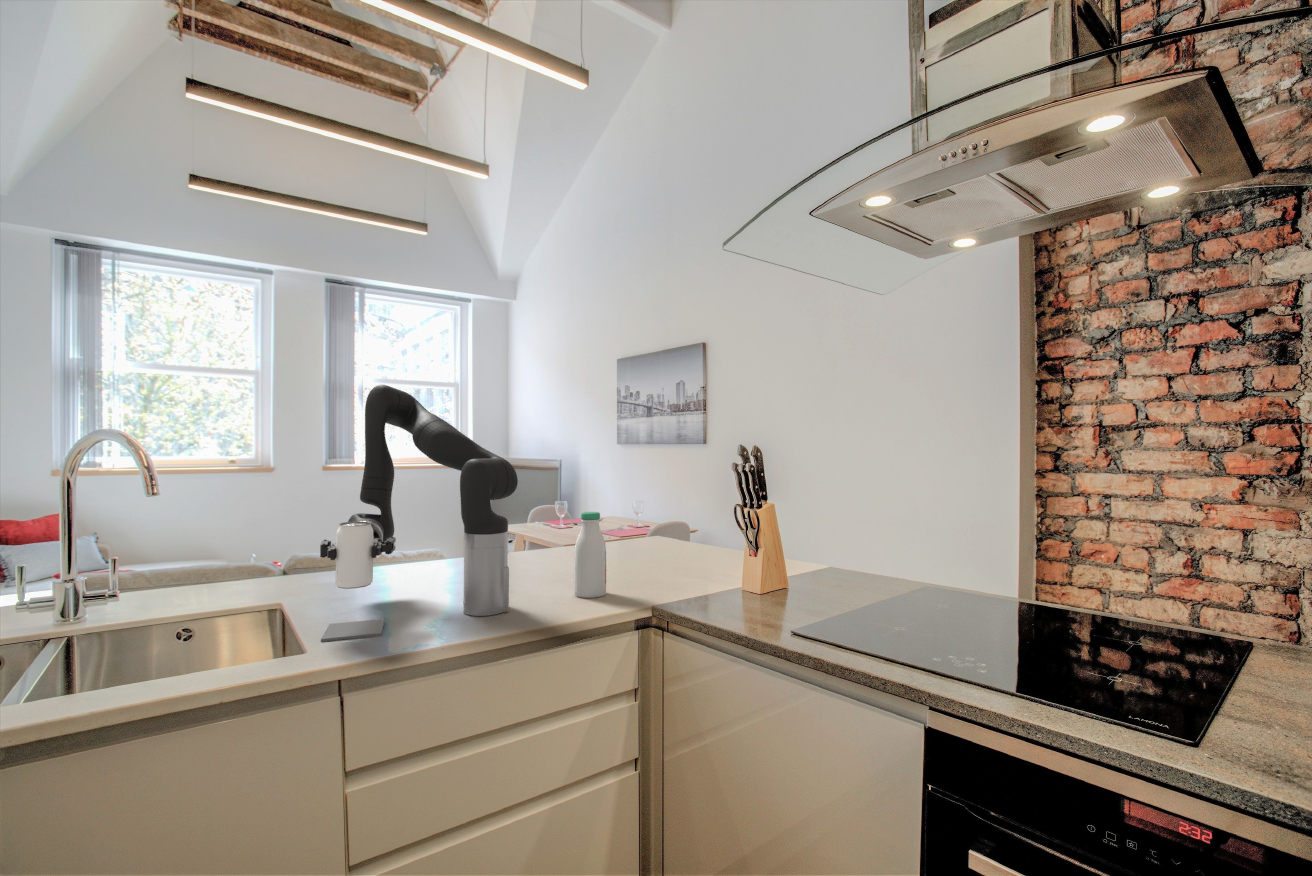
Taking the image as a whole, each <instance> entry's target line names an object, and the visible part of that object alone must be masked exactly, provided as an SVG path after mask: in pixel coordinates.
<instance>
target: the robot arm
mask: <svg viewBox="0 0 1312 876" xmlns="http://www.w3.org/2000/svg"><path fill="white" fill-rule="evenodd" d="M386 424H388V425H391V426H395V427H398V428H400V429H402V430H405V431H406V432H408V433H409V434H411V435H412V441H413V443H414V446H415V447H416V448H417V449H418V450H419V452H421V453H423V454H424V455H425V456H426V457H427V458H428V459H430V460H431V461H433V462H435V463H437V464H439V465H441V466H444V467H447V468H450V469H454V470H457V471H459V472H460V471H461V472H460V478H459V492H460V493H459V494H460V496H459V497H460V514H461V520H462V523H463V604H462V605H463V613H464V614H465V615H468V616H473V617H474V616H476V617H478V616H480V617H485V616H493V615H499V614H501V613H506V612H507V613H508V612H509V611H510V605H509V604H510V567H509V566H508V564H509V561H508V560H509V559H508V558H509V557H508V556H509V551H508V550H509V547H508V545H509V543H508V541H509V538H508V537H509V520H508V519H507V517H505V516H502V515H499V514H497V513H496V512H494V511H493V509H492V504H491V502H492V501H495V500H496V501H498V500H503V499H505V498H508V497H510V496H511V495H512V494H515V493H514V492H515V491H516V490H517V487H518V483H519V481H518V475H517V471H516V470H515V468H514V466H513V465H512V464H511V462H509V460H507V459H505V458H504V457H501V456H499V455H497V454H495V453H494V452H491V451H490V450H487V449H486V448H484V447H482V446H481V445H480V444H478V443H476V442H475V441H474V440H472V439H471V438H470V437H468V436H467V435H465V434H464V433H462V432H461V431H459V430H458V429H457V428H456V427H455V426H453V425H451V424H450V423H449V422H447V421H446V420H444V419H443V418H441V417H440V416H438V415H436V414H435V413H432V412H431V411H429V410H428V409H427V408H426V407H425V406H423V405H422V403H420V402H419V401H418V399H416V398H415V397H414V396H413V395H411V394H410V393H408V392H405V391H403V390H400V389H397V388H395V387H392V386H391V385H386V384H381V383H380V384H378V385H375V386H374V387H372V388H371V390H370V391H369V393H368V395H367V397H366V401H365V408H364V446H365V447H364V449H365V452H364V453H365V456H364V467H363V474H362V482H361V487H360V493H359V500H360V502H362V503H364V504H367V505H370V506H374V507H376V508H378V509H379V510H380V514H378V513H377V514H376V513H364V512H363V513H362V512H361V513H360V512H359V513H353V514H352V515H351V516H350V517H349V519H348V520H347V522H355V521H366V522H371V527H372V528H373V546H372V558H373V559H376V558H377V557H378V556H381V555H382V554H383V553H384V554H386V555H391V554H393V552H394V551H395V550H396V542H397V541H396V537H395V536H394V534H395V523H394V517H393V512H392V495H393V487H394V481H395V466H394V462H393V458H392V456H391V453H390V450H389V447H388V444H387V439H386V432H385V430H386ZM319 549H320V550H319V552H320V553H319V554H320V555H319V556H320V558H322V559H323V558H327V559H330V561H336V542H335V543H334V542H333V543H332V540H329V539H323V540H321V542H320V548H319Z"/></svg>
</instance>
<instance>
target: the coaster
mask: <svg viewBox="0 0 1312 876" xmlns="http://www.w3.org/2000/svg"><path fill="white" fill-rule="evenodd" d="M385 622H386V618H378V619H377V618H376V619H368V620H357V621H355V620H354V621H345V622H335V623H329V624H328V626H327V627H326V630H325V631H324V633H323V635H322V636H321V638H320V642H321V643H322V641H324V642H332V641H333V640H334V641H341V640H343V639H344V640H352V639H362V638H374V637H381V636H382V632H383V630H384V626H385ZM334 641H333V642H334Z"/></svg>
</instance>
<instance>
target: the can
mask: <svg viewBox="0 0 1312 876" xmlns="http://www.w3.org/2000/svg"><path fill="white" fill-rule="evenodd" d="M338 525H339V526H338V529H337V530H336V534H335V536H336V537H335V543H336V559H335V586H336V587H337V588H339V589H342V590H343V589H348V590H349V589H359V588H361V589H362V588H365V587H368V586H371V584H373V580H374V575H373V574H374V558H372V546H373V528H372V527H371V522H366V521H355V522H348V521H346V522H345V521H343V522H340V523H338Z"/></svg>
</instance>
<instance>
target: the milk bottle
mask: <svg viewBox="0 0 1312 876" xmlns="http://www.w3.org/2000/svg"><path fill="white" fill-rule="evenodd" d="M580 518H581V520H580V521H581V527H580V531H579V534H578V536H577V538H576V541H575V546H574V560H573V561H574V562H573V563H574V565H573V567H574V568H573V569H574V570H573V571H574V572H573V575H574V576H573V579H574V580H573V586H574V587H573V593H574V595H575V596H576V597H578V598H586V599H592V598H593V599H594V598H601V597H603V596H605V595H606V594H607V546H606V541H605V538H604V535H603V533H602V531H601V527H600V520H601V513H600V512H598V511H583V512H581V513H580Z"/></svg>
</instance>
